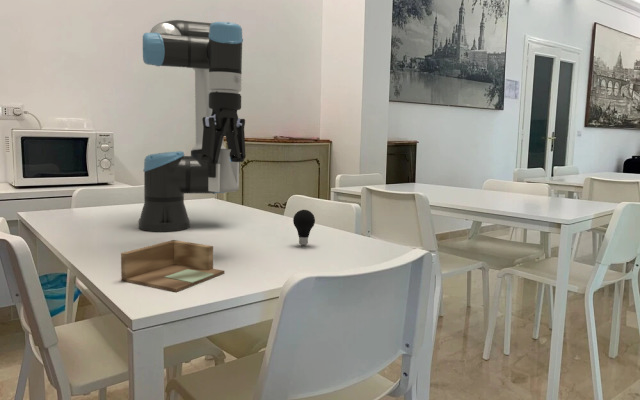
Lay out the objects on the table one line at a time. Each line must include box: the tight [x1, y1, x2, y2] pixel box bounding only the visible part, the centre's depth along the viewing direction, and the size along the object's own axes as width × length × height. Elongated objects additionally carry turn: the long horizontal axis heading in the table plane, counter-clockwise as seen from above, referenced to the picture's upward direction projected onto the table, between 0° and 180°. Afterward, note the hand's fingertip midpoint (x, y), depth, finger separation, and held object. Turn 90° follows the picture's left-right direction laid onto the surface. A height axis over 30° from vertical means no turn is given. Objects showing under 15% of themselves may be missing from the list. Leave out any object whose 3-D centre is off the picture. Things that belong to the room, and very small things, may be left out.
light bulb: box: [292, 209, 316, 247], centre depth 136 cm, size 6×6×10 cm
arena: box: [120, 239, 225, 293], centre depth 104 cm, size 14×15×6 cm
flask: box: [218, 148, 239, 193], centre depth 120 cm, size 7×7×10 cm
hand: (224, 189), depth 121 cm, fingers closed on flask, 7 cm apart
